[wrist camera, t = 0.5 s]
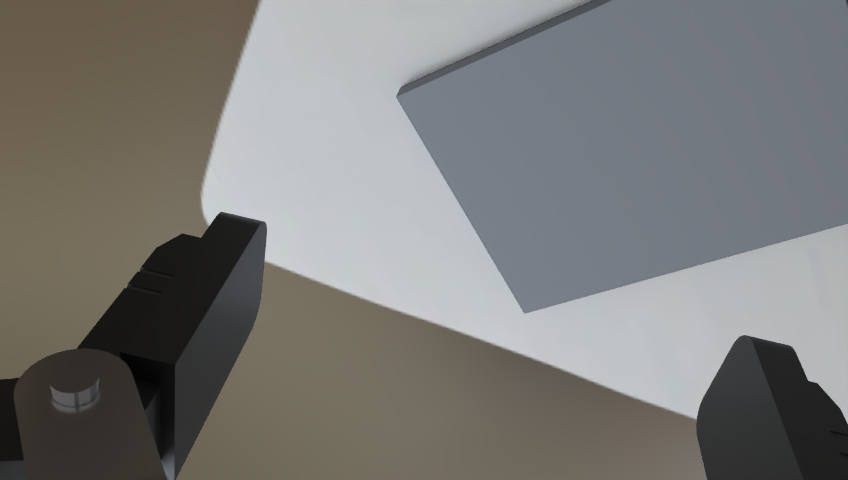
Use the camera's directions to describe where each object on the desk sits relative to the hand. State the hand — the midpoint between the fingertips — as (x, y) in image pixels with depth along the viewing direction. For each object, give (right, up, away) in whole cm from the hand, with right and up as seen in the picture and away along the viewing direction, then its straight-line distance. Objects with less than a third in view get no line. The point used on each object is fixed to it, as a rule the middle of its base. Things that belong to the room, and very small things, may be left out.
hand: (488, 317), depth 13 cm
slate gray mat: (+9, +6, +22) cm, 24 cm away
